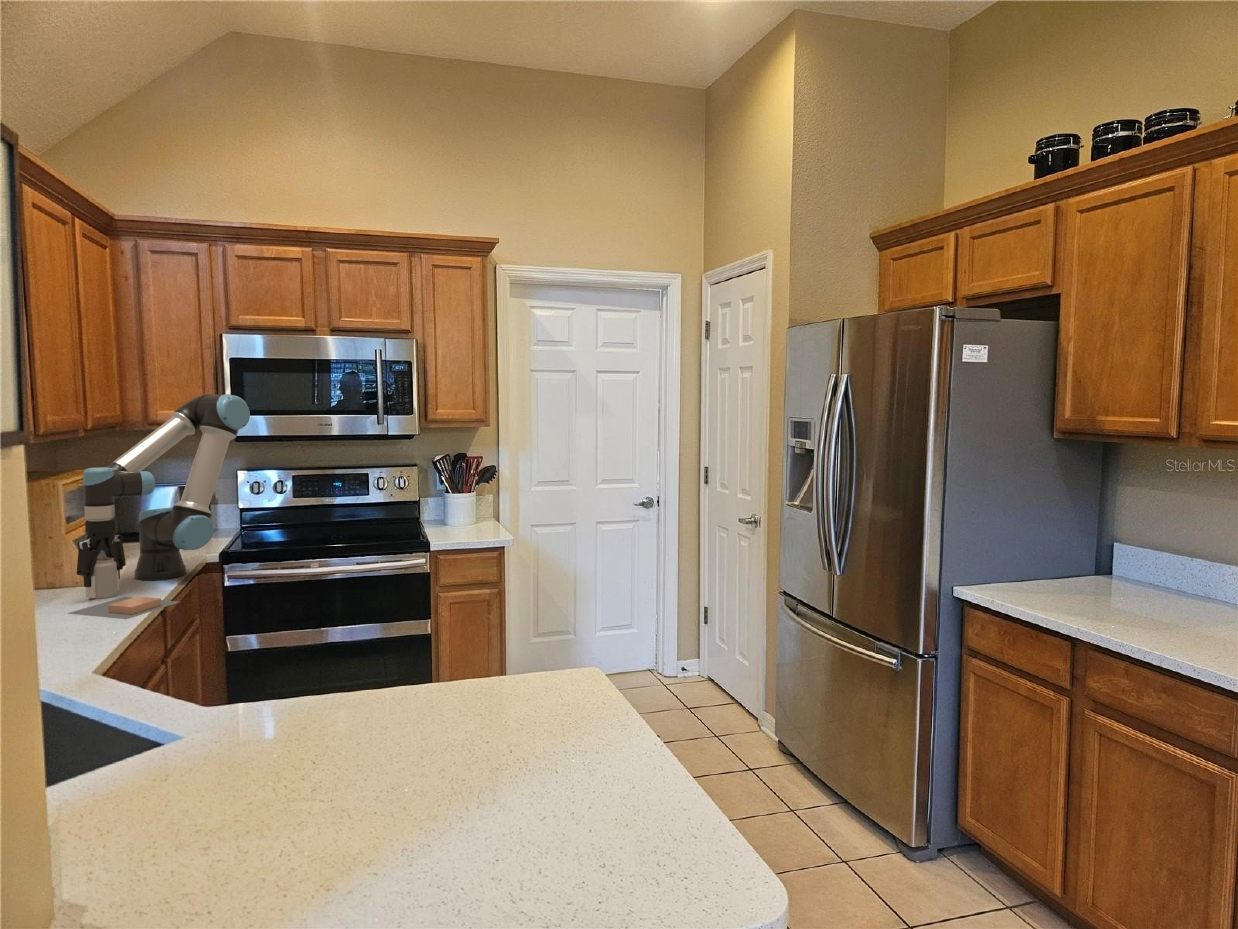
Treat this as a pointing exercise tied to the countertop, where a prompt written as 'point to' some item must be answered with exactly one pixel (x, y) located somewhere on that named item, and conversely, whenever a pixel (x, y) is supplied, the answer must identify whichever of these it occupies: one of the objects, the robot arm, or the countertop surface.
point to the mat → (102, 611)
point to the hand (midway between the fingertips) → (102, 594)
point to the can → (105, 578)
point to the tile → (134, 605)
